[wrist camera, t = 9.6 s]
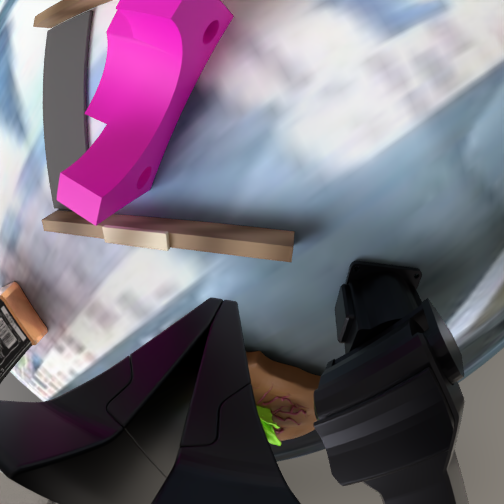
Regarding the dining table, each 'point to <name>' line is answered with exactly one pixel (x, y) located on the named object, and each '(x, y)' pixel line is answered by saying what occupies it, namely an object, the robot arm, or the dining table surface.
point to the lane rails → (163, 229)
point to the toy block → (140, 99)
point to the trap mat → (65, 96)
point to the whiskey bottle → (16, 327)
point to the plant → (282, 397)
